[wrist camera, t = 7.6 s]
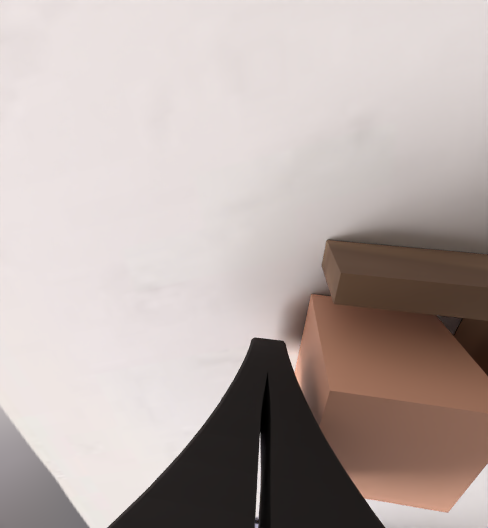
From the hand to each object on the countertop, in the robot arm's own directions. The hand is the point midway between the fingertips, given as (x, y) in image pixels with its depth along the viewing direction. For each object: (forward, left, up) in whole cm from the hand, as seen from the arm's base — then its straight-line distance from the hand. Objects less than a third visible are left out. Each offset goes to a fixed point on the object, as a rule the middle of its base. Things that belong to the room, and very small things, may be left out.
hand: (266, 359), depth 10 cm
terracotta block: (0, -4, -1) cm, 4 cm away
